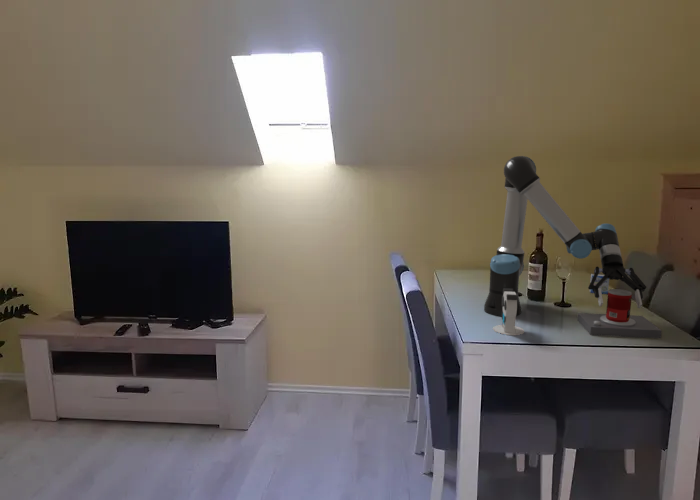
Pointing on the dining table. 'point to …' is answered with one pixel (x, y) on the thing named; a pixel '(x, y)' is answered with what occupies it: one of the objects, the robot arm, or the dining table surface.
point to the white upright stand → (509, 314)
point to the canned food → (618, 305)
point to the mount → (618, 326)
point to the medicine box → (603, 287)
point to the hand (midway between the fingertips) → (620, 305)
